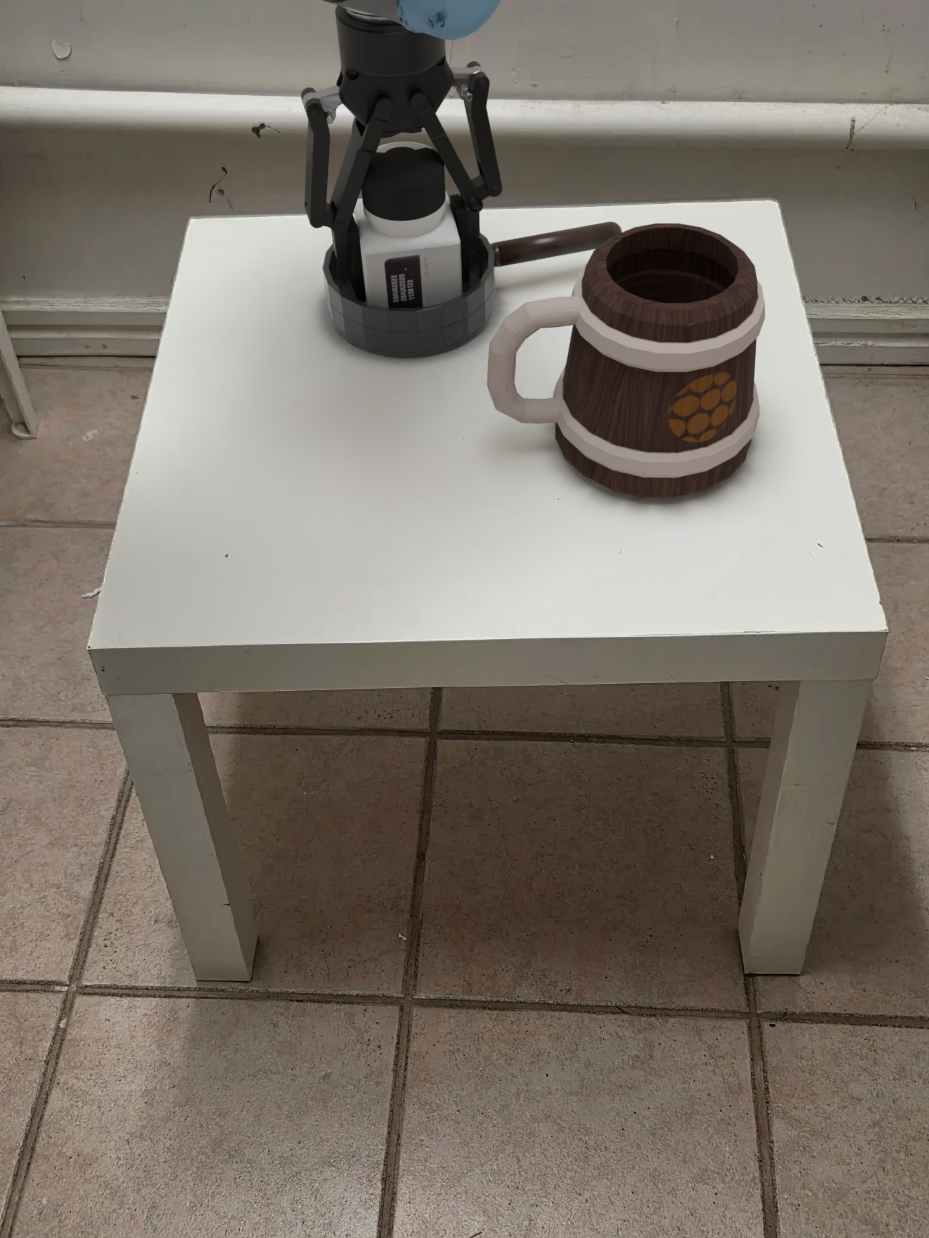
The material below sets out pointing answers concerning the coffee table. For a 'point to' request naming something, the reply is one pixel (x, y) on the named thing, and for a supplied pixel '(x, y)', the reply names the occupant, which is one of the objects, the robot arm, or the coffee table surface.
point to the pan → (413, 311)
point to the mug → (647, 362)
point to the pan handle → (553, 243)
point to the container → (407, 229)
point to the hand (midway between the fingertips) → (410, 282)
